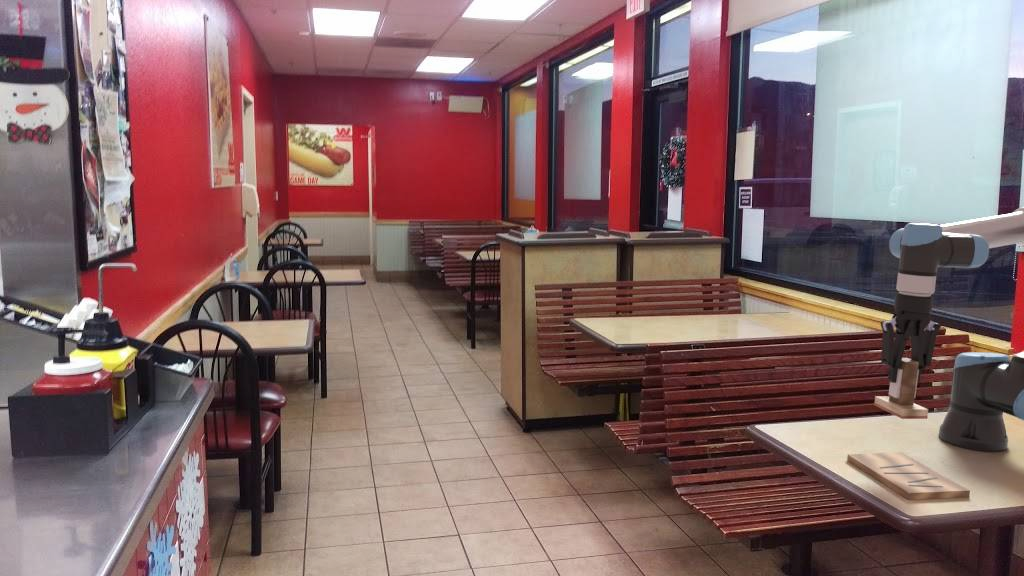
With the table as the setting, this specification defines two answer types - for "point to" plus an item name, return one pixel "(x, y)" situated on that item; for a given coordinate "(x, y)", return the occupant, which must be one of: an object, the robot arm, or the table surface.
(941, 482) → the board
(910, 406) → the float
